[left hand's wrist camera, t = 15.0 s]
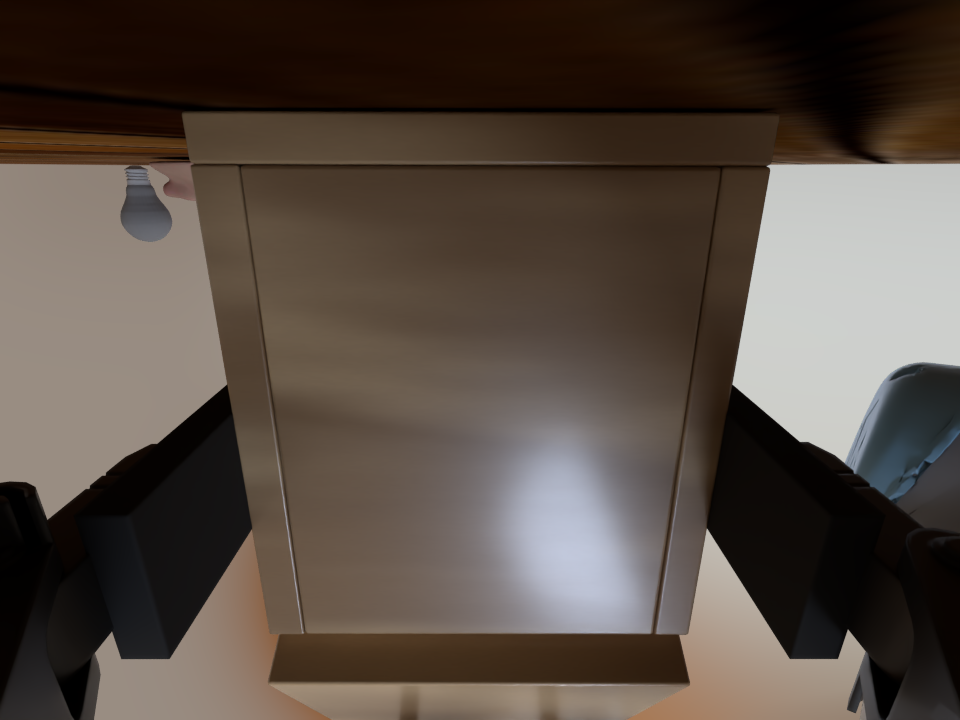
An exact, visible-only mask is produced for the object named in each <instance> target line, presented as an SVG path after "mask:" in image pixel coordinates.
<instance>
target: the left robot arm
mask: <svg viewBox="0 0 960 720" xmlns="http://www.w3.org/2000/svg"><path fill="white" fill-rule="evenodd" d="M707 529H708V530H709V532H710V534H711V535H712V537H713V538H714V540H715V541H716V543H717V545H718V546H719V548H720V549H721V551H722V553H723V554H724V556H725V557H726V559H727V560H728V562H729V564H730V565H731V567H732V568H733V570H734V571H735V573H736V575H737V576H738V578H739V579H740V581H741V582H742V584H743V586H744V587H745V589H746V590H747V592H748V594H749V595H750V597H751V598H752V600H753V601H754V603H755V605H756V606H757V608H758V609H759V611H760V612H761V614H762V616H763V617H764V619H765V620H766V622H767V624H768V625H769V627H770V628H771V630H772V631H773V633H774V635H775V636H776V638H777V639H778V641H779V642H780V644H781V646H782V647H783V649H784V650H785V652H786V653H787V655H788V657H789V658H790V659H838V657H839V654H840V651H841V648H842V645H843V642H844V639H845V636H846V633H847V630H849V631H850V632H851V633H852V635H853V636H854V637H855V638H856V640H857V641H858V642H859V643H860V645H861V646H862V647H863V648H864V650H865V651H866V652H865V655H864V658H863V661H862V664H861V666H860V669H859V672H858V675H857V678H856V680H855V683H854V686H853V689H852V692H851V694H850V697H849V701H848V707H847V710H849V711H851V712H854V713H856V711H857V708H858V706H859V703H860V701H862V700H863V703H862V709H861V715H860V720H960V366H953V365H944V364H936V363H924V362H922V363H913V364H908V365H906V366H903V367H900V368H898V369H897V370H895V371H893V372H892V373H891V374H890V375H889V376H888V377H887V378H886V379H885V380H884V381H883V383H882V384H881V385H880V387H879V389H878V391H877V392H876V394H875V396H874V398H873V400H872V402H871V404H870V406H869V408H868V410H867V413H866V415H865V417H864V419H863V421H862V423H861V426H860V428H859V430H858V432H857V435H856V437H855V440H854V442H853V444H852V447H851V449H850V452H849V454H848V456H847V459H846V461H845V463H844V462H842V461H841V460H840V459H839V458H837V457H836V456H835V455H833V454H831V453H829V452H827V451H825V450H823V449H821V448H819V447H817V446H815V445H813V444H811V443H809V442H799V441H798V440H797V439H796V438H795V437H793V436H792V435H791V434H790V433H789V432H787V431H786V430H785V429H784V428H783V427H782V426H780V425H779V424H778V423H777V422H776V421H775V420H773V419H772V418H771V417H770V416H769V415H767V414H766V413H765V412H764V411H763V410H762V409H760V408H759V407H758V406H757V405H756V404H755V403H753V402H752V401H751V400H750V399H749V398H747V397H746V396H745V395H744V394H743V393H742V392H740V391H739V390H738V389H737V388H736V387H735V386H733V385H732V389H731V394H730V400H729V406H728V411H727V415H726V421H725V427H724V433H723V438H722V444H721V450H720V456H719V461H718V467H717V473H716V479H715V484H714V490H713V496H712V501H711V507H710V513H709V518H708V524H707ZM251 530H252V524H251V518H250V512H249V506H248V501H247V495H246V489H245V483H244V477H243V472H242V466H241V460H240V454H239V449H238V443H237V437H236V431H235V425H234V420H233V414H232V409H231V403H230V397H229V391H228V385H226V386H225V387H224V388H223V389H221V390H220V391H219V392H218V393H217V394H215V395H214V396H213V397H212V398H211V399H210V400H208V401H207V402H206V403H205V404H204V405H203V406H201V407H200V408H199V409H198V410H197V411H196V412H194V413H193V414H192V415H191V416H190V417H188V418H187V419H186V420H185V421H184V422H183V423H181V424H180V425H179V426H178V427H177V428H176V429H174V430H173V431H172V432H171V433H170V434H168V435H167V436H166V437H165V438H164V439H163V440H161V441H160V442H159V443H158V444H150V445H148V446H146V447H144V448H143V449H141V450H139V451H137V452H134V453H133V454H131V455H128V456H126V457H125V458H124V459H122V460H121V461H120V462H119V463H117V464H116V465H115V466H114V467H112V468H111V469H110V470H109V471H107V472H106V476H101V477H100V478H99V479H98V480H96V481H95V482H94V483H93V484H91V485H90V489H85V490H84V491H83V492H82V493H80V494H79V495H78V496H77V497H75V498H74V499H73V500H72V501H70V502H69V503H68V504H67V505H65V506H64V507H63V508H62V509H61V510H59V511H58V512H57V513H56V514H54V515H53V516H52V517H51V518H49V519H48V520H47V518H46V515H45V512H44V510H43V507H42V504H41V501H40V498H39V496H38V493H37V490H36V487H34V486H32V485H30V484H29V483H27V482H3V483H0V720H94V715H95V708H96V701H97V695H98V688H99V681H100V669H99V664H98V661H97V658H96V655H95V652H96V651H97V649H98V648H99V647H100V646H101V644H102V643H103V642H104V641H105V639H106V638H107V637H108V636H109V634H110V633H111V632H113V635H114V638H115V641H116V644H117V647H118V650H119V653H120V656H121V659H170V657H171V656H172V654H173V653H174V651H175V649H176V648H177V646H178V645H179V643H180V642H181V640H182V638H183V637H184V635H185V634H186V632H187V631H188V629H189V627H190V626H191V624H192V623H193V621H194V619H195V618H196V616H197V615H198V613H199V612H200V610H201V608H202V607H203V605H204V604H205V602H206V600H207V599H208V597H209V596H210V594H211V593H212V591H213V590H214V588H215V586H216V585H217V583H218V582H219V580H220V578H221V577H222V575H223V574H224V572H225V571H226V569H227V567H228V566H229V564H230V563H231V561H232V560H233V558H234V556H235V555H236V553H237V552H238V550H239V548H240V547H241V545H242V544H243V542H244V541H245V539H246V537H247V536H248V534H249V533H250V531H251Z"/></svg>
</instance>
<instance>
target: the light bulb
mask: <svg viewBox="0 0 960 720" xmlns="http://www.w3.org/2000/svg"><path fill="white" fill-rule="evenodd" d="M125 171H126V174H127V176H126V177H128V179H127V183H128V185H127V187H126V194H127V196H126V199H125V202H124V205H123V207H122V210H121V222H122V225H123V227H124V228H125V229H126V231H127V232H128V233H129V234H131V235H132V236H133V237H135V238H137V239H139V240H142V241H148V242H153V241H157V240H160V239H162V238H164V237H165V236H166V235H167V234H168V233H169V231H170V229H171V226H172V218H171V215H170V213H169V211H168V210H167V208H166V207H165V206H164V204H163V203H162V202H161V201H160V200H159V198H158V197H157V196H156V193H155V190H154V188H153V187H152V186H151V183H150V180H148V177H147V175H148V174H147V172H148V171H147V169H145V168H143V167H141V166H129V167H128V168H126V169H125Z"/></svg>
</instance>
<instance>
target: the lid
mask: <svg viewBox="0 0 960 720" xmlns="http://www.w3.org/2000/svg"><path fill="white" fill-rule="evenodd" d="M268 685H270V686H272V687H274V688H276V689H278V690H279V691H281V692H283V693H285V694H286V695H288V696H290V697H292V698H294V699H296V700H297V701H299V702H301V703H303V704H305V705H306V706H308V707H310V708H312V709H314V710H315V711H317V712H319V713H321V714H323V715H324V716H326V717H328V718H330V719H332V720H627V719H629V718H630V717H632V716H634V715H636V714H638V713H640V712H641V711H643V710H645V709H647V708H649V707H651V706H652V705H654V704H656V703H658V702H660V701H662V700H663V699H665V698H667V697H669V696H671V695H673V694H675V693H676V692H678V691H680V690H682V689H684V688H686V687H687V686H689V685H690V681H689V676H688V672H687V667H686V663H685V659H684V655H683V650H682V646H681V641H680V637H679V635H656V634H654V632H653V633H652V634H308V633H306V631H305V633H304V634H279V636H278V640H277V645H276V649H275V653H274V658H273V662H272V666H271V670H270V675H269V679H268Z"/></svg>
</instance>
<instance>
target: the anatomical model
mask: <svg viewBox="0 0 960 720" xmlns="http://www.w3.org/2000/svg"><path fill="white" fill-rule="evenodd" d="M149 165H150V166H151V167H153V168H154V169H155V170H157V171H159V172H161V173H162V174H164V175H166V176H167V177H168V178H169V179H170V180H169V182H167V183H166V184H165V185H164V187H163V190H164V193H165V194H166V195H167V196H170V197H176V198H182V199H186V200H192V201H196V197H195V191H194V186H193V180H192V174H191V168H190V167H191V165H193V163H191V161H158V162H150V163H149Z"/></svg>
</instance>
